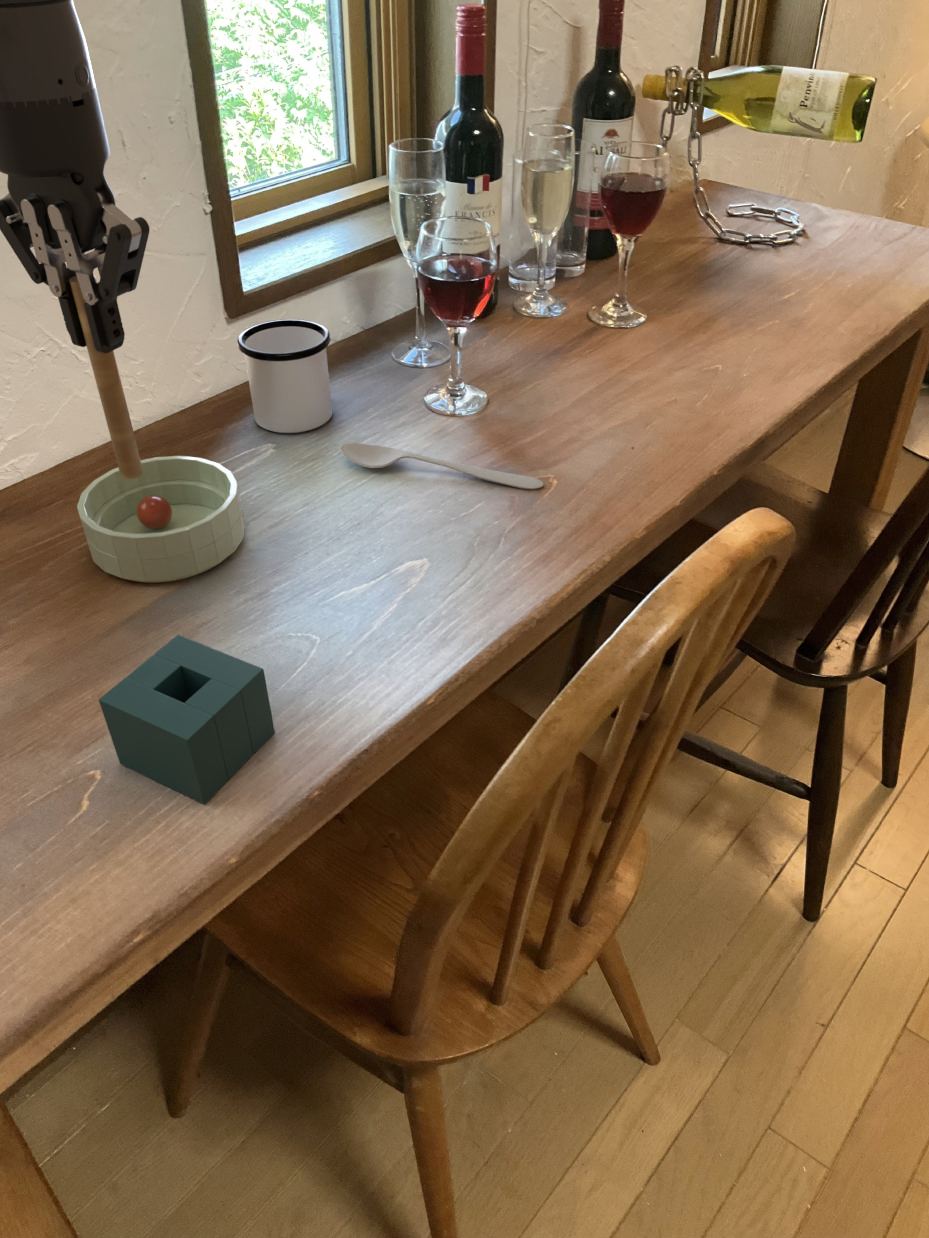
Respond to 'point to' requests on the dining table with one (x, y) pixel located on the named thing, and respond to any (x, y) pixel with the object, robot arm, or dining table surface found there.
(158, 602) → the dining table surface
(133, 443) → the stick
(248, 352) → the mug
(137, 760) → the holder
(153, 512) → the ball
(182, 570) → the bowl
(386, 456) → the spoon
